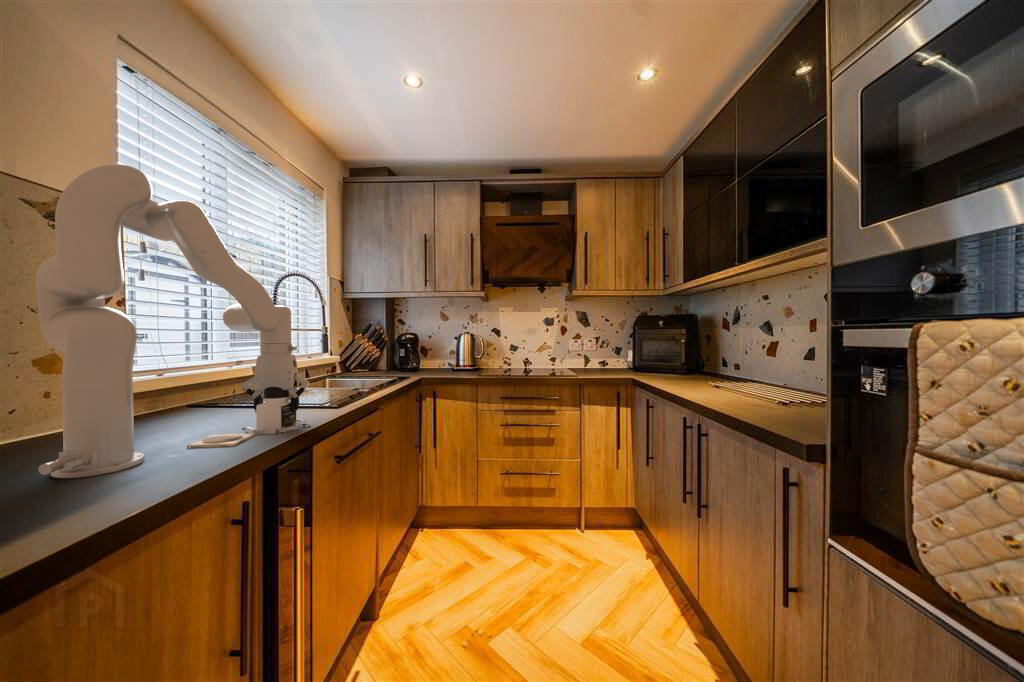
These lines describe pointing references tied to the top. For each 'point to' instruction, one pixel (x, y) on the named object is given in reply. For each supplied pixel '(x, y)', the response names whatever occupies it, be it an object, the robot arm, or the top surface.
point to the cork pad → (222, 440)
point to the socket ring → (274, 430)
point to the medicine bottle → (275, 410)
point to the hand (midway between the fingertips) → (276, 411)
